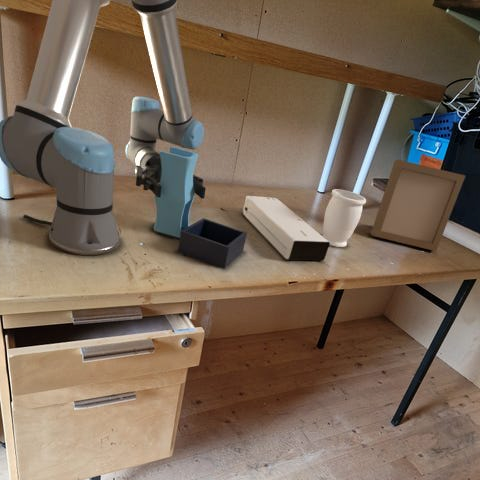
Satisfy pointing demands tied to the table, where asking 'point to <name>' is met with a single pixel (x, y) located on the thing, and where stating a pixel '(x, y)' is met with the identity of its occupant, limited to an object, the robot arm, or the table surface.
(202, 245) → the bin
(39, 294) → the table surface
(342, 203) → the jar
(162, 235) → the coaster
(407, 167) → the photo frame
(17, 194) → the table surface
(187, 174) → the vase
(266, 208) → the laminator
